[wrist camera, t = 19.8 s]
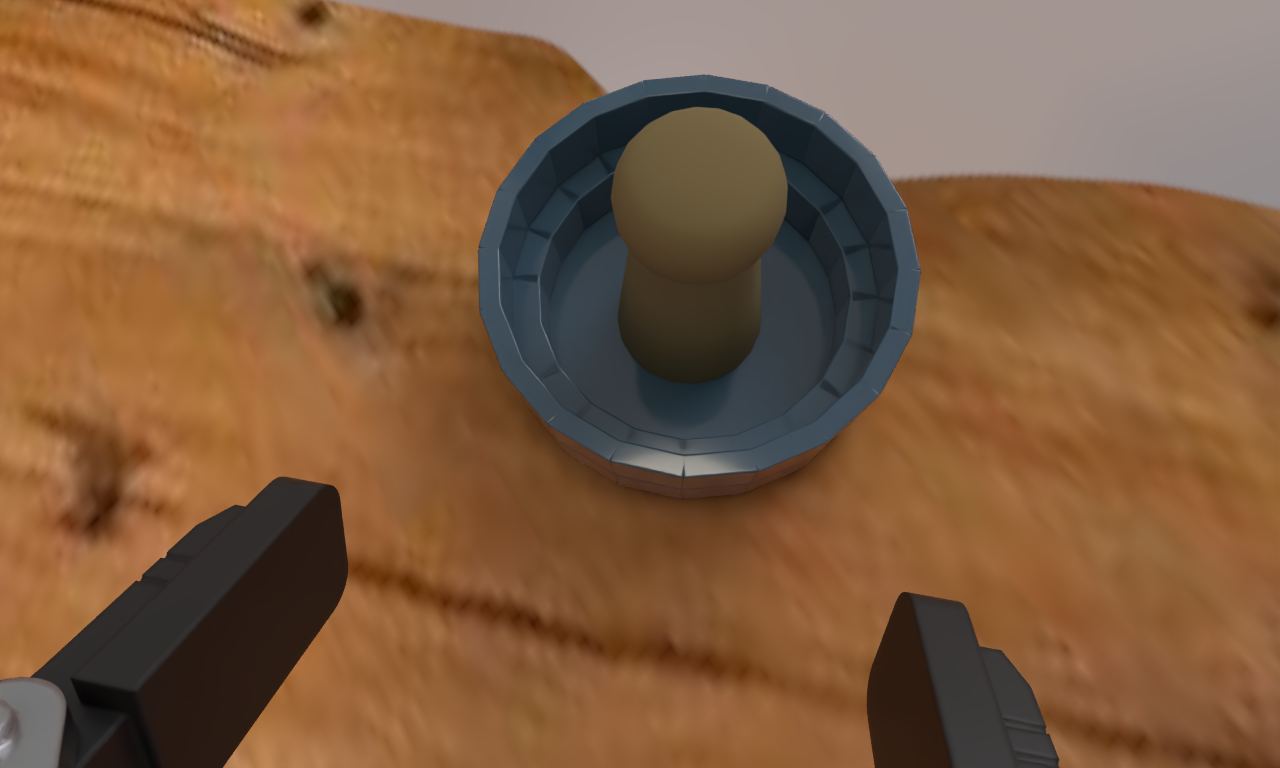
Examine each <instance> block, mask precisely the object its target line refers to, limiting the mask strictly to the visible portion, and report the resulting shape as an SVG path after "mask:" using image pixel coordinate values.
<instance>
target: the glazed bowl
mask: <svg viewBox="0 0 1280 768" xmlns="http://www.w3.org/2000/svg"><path fill="white" fill-rule="evenodd" d="M692 107H705V108H718V109H722V110H725V111H727V112H730V113H733V114H736V115H739V116H741V117H743V118H744V119H745V120H747V121H748V122H750V123H751V124H752V125H754V126H755V127H756V128H758V129H759V130H760V131H761V132H763V133H764V134H765V136H766V137H767V138H768V140H769V141H770V142H771V144H772V145H773V146H774V148H775V149H776V151H777V152H778V153H779V155H780V158H781V162H782V165H783V168H784V172H785V175H786V179H787V186H788V191H787V207H786V214H785V217H784V220H783V222H782V225H781V227H780V229H779V231H778V234H777V236H776V238H775V240H774V243H773V245H772V246H771V247H770V248H769V249H768V250H767V251H766V252H765V253H764V254H763V255H762V256H761V321H760V333H759V335H758V338H757V340H756V342H755V344H754V347H753V349H752V351H751V353H750V354H749V355H748V356H747V357H746V358H745V359H744V360H743V362H742V363H741V364H740V365H739V366H738V367H737V368H736V369H734V370H732V371H731V372H729V373H727V374H725V375H723V376H722V377H720V378H718V379H716V380H711V381H706V382H701V383H697V384H688V383H678V382H670V381H668V380H665V379H663V378H661V377H658V376H656V375H654V374H651V373H649V372H648V371H647V370H646V369H645V368H643V367H642V366H641V365H640V364H639V363H638V362H636V361H635V360H634V359H633V358H632V356H631V354H630V353H629V351H628V349H627V348H626V346H625V344H624V343H623V341H622V339H621V334H620V329H619V325H618V320H617V318H618V311H619V303H620V296H621V290H622V284H623V278H624V272H625V267H626V261H627V255H628V247H627V245H626V244H625V242H624V241H623V239H622V237H621V236H620V234H619V233H618V231H617V226H616V221H615V217H614V212H613V208H612V202H611V193H612V186H613V178H614V173H615V169H616V166H617V163H618V161H619V160H620V158H621V156H622V154H623V152H624V150H625V148H626V146H627V144H628V143H629V142H630V141H631V140H632V139H633V138H634V137H635V136H636V135H637V134H638V133H639V132H640V131H641V130H642V129H643V128H644V127H645V126H646V125H648V124H649V123H651V122H652V121H654V120H656V119H658V118H660V117H662V116H664V115H666V114H668V113H670V112H672V111H677V110H682V109H687V108H692ZM478 271H479V309H480V315H481V317H482V320H483V323H484V325H485V328H486V330H487V333H488V336H489V338H490V341H491V344H492V346H493V349H494V351H495V354H496V357H497V359H498V362H499V364H500V367H501V370H502V372H503V373H504V375H505V376H506V378H507V379H508V380H509V382H510V383H511V385H512V386H513V387H514V389H515V390H516V392H517V393H518V395H519V396H520V397H521V399H522V400H523V402H524V403H525V404H526V406H527V407H528V409H529V410H530V411H531V412H532V413H533V415H534V416H535V417H536V418H537V419H538V421H539V422H540V423H541V424H542V425H543V426H544V428H545V429H546V430H547V431H548V432H549V433H550V435H551V436H552V437H553V438H554V439H555V441H556V442H557V443H558V444H559V445H560V446H561V448H562V449H563V450H564V451H565V452H567V454H569V455H570V456H572V457H574V458H575V459H577V460H578V461H580V462H582V463H583V464H585V465H587V466H588V467H590V468H592V469H593V470H595V471H597V472H598V473H600V474H602V475H603V476H605V477H607V478H608V479H610V480H612V481H613V482H615V483H617V484H620V485H622V486H627V487H631V488H635V489H640V490H644V491H648V492H653V493H657V494H661V495H666V496H670V497H674V498H681V499H686V498H697V497H709V496H720V495H731V494H742V493H743V492H744V493H746V492H748V491H750V490H753V489H755V488H757V487H760V486H762V485H764V484H767V483H769V482H771V481H774V480H776V479H778V478H781V477H783V476H785V475H788V474H790V473H792V472H795V471H797V470H799V469H801V468H802V467H804V466H805V465H806V464H807V463H808V462H809V461H810V460H811V459H812V458H813V457H815V456H816V455H817V454H818V453H819V452H820V451H821V450H822V449H823V448H825V447H826V446H827V445H828V444H829V443H830V442H831V441H832V440H833V439H834V438H836V437H837V436H838V435H839V434H840V433H841V432H842V431H843V430H844V429H845V428H847V427H848V426H849V425H850V424H851V423H852V422H853V421H854V420H855V419H856V418H857V417H858V416H859V415H860V414H861V413H862V412H863V411H864V410H865V409H866V408H867V407H868V406H869V405H870V404H871V403H872V402H873V401H874V400H875V399H876V398H877V397H879V395H880V394H881V392H882V391H883V389H884V387H885V385H886V383H887V381H888V379H889V377H890V376H891V374H892V372H893V370H894V368H895V366H896V364H897V362H898V361H899V359H900V357H901V355H902V353H903V351H904V349H905V347H906V346H907V344H908V342H909V340H910V338H911V335H912V332H913V325H914V318H915V310H916V303H917V296H918V289H919V281H920V274H921V271H920V265H919V261H918V256H917V251H916V247H915V242H914V237H913V233H912V228H911V224H910V219H909V214H908V210H907V207H906V205H905V204H904V202H903V200H902V199H901V197H900V195H899V194H898V192H897V190H896V189H895V187H894V185H893V184H892V182H891V180H890V179H889V177H888V176H887V174H886V172H885V171H884V169H883V167H882V166H881V164H880V162H879V161H878V159H877V157H876V156H875V155H873V153H872V152H871V151H870V150H869V149H867V148H866V147H865V146H864V145H863V144H862V143H861V142H860V141H858V140H857V139H856V138H855V137H854V136H853V135H852V134H850V133H849V132H848V131H847V130H846V129H845V128H843V127H842V126H841V125H840V124H839V123H838V122H837V121H836V120H834V119H833V118H832V117H831V116H830V115H829V114H826V113H825V112H824V111H822V110H820V109H818V108H816V107H813V106H811V105H809V104H807V103H805V102H803V101H801V100H798V99H796V98H794V97H792V96H790V95H788V94H786V93H783V92H781V91H779V90H777V89H775V88H773V87H769V86H768V85H765V84H759V83H753V82H747V81H741V80H735V79H729V78H723V77H717V76H712V75H697V76H696V75H695V76H685V77H674V78H663V79H653V80H644V81H643V82H642V81H641V82H638V83H636V84H633V85H630V86H628V87H625V88H622V89H620V90H617V91H614V92H612V93H609V94H606V95H604V96H601V97H598V98H596V99H593V100H590V101H588V102H585V104H584V103H583V104H581V105H580V106H578V107H577V108H576V109H574V110H573V111H572V112H570V113H569V114H568V115H566V116H565V117H564V118H562V119H561V120H560V121H558V122H557V123H555V124H554V125H553V126H551V127H550V128H549V129H547V130H546V131H545V132H543V133H542V134H541V135H539V136H538V137H537V138H535V139H534V141H533V142H532V143H531V145H530V146H529V148H528V149H527V150H526V152H525V153H524V154H523V156H522V157H521V158H520V160H519V161H518V162H517V164H516V165H515V166H514V168H513V169H512V171H511V172H510V173H509V175H508V176H507V177H506V179H505V180H504V181H503V183H502V184H501V185H500V187H499V189H498V190H497V192H496V195H495V198H494V201H493V204H492V207H491V210H490V213H489V216H488V219H487V222H486V225H485V228H484V232H483V235H482V238H481V241H480V244H479V249H478Z"/></svg>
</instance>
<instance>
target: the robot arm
mask: <svg viewBox="0 0 1280 768" xmlns="http://www.w3.org/2000/svg"><path fill="white" fill-rule="evenodd" d="M347 575H348V560H347V552H346V544H345V536H344V527H343V519H342V511H341V503H340V496H339V493H338V491H337V489H336V488H335V487H334V486H332V485H328V484H322V483H317V482H311V481H306V480H300V479H295V478H289V477H278V478H276V479H274V480H273V481H272V482H271V483H269V484H268V485H267V486H266V487H265V488H264V489H263V490H262V491H261V492H260V493H259V494H258V495H257V496H256V497H255V498H254V499H253V500H252V501H251V502H250V503H249V504H248V505H247V506H246V507H244V506H239V505H234V506H232V507H230V508H228V509H226V510H224V511H222V512H221V513H219V514H217V515H215V516H213V517H211V518H209V519H207V520H205V521H204V522H202V523H200V524H198V525H196V526H195V527H194V528H193V529H192V530H191V531H190V532H189V533H187V534H186V535H185V536H184V537H183V538H182V539H181V540H180V541H179V542H178V543H177V544H175V545H174V546H173V547H172V548H171V549H170V550H169V551H168V552H167V556H166V557H165V558H160V559H159V560H158V561H157V562H156V563H155V564H154V565H153V566H152V567H150V568H149V569H148V570H147V571H146V572H145V573H144V574H143V575H142V579H141V581H140V582H139V581H135V582H134V583H133V584H132V585H131V586H130V587H129V588H128V589H127V590H125V591H124V592H123V593H122V594H121V595H120V596H119V597H118V598H117V599H116V600H115V601H113V602H112V603H111V604H110V605H109V606H108V607H107V608H106V609H105V610H104V611H103V612H102V613H100V614H99V615H98V616H97V617H96V618H95V619H94V620H93V621H92V622H91V623H90V624H88V625H87V626H86V627H85V628H84V629H83V630H82V631H81V632H80V633H79V634H78V635H77V636H75V637H74V638H73V639H72V640H71V641H70V642H69V643H68V644H67V645H66V646H65V647H63V648H62V649H61V650H60V651H59V652H58V653H57V654H56V655H55V656H54V657H53V658H51V659H50V660H49V661H48V662H47V663H46V664H45V665H44V666H43V667H42V668H41V669H39V670H38V671H37V672H36V673H35V674H33V675H32V676H31V677H19V678H9V679H4V680H0V768H223V766H224V765H225V764H226V762H227V761H228V759H229V758H230V757H231V755H232V754H233V752H234V751H235V749H236V748H237V747H238V745H239V744H240V742H241V741H242V740H243V738H244V737H245V735H246V734H247V733H248V731H249V730H250V728H251V727H252V725H253V724H254V723H255V721H256V720H257V718H258V717H259V716H260V714H261V713H262V711H263V710H264V709H265V707H266V706H267V704H268V703H269V702H270V700H271V699H272V697H273V696H274V694H275V693H276V692H277V690H278V689H279V687H280V686H281V685H282V683H283V682H284V680H285V679H286V678H287V676H288V675H289V673H290V672H291V670H292V669H293V668H294V666H295V665H296V663H297V662H298V661H299V659H300V658H301V656H302V655H303V654H304V652H305V651H306V649H307V648H308V646H309V645H310V644H311V642H312V641H313V639H314V638H315V637H316V635H317V634H318V632H319V631H320V630H321V628H322V627H323V625H324V624H325V623H326V621H327V620H328V618H329V617H330V615H331V614H332V613H333V611H334V610H335V608H336V607H337V605H338V603H339V601H340V599H341V597H342V594H343V591H344V588H345V585H346V581H347ZM867 715H868V723H869V730H870V737H871V744H872V751H873V758H874V765H875V768H1059V765H1058V761H1059V758H1058V756H1057V753H1056V751H1055V748H1054V745H1053V743H1052V740H1051V738H1050V735H1049V734H1046V731H1045V728H1046V725H1045V722H1044V720H1043V717H1042V715H1041V712H1040V709H1039V707H1038V704H1037V702H1036V699H1035V697H1034V694H1033V691H1032V689H1031V687H1030V685H1029V684H1028V683H1027V682H1026V680H1025V679H1024V678H1023V677H1022V675H1021V674H1020V673H1019V672H1018V671H1017V669H1016V668H1015V667H1014V666H1013V664H1012V663H1011V662H1010V661H1009V659H1008V658H1007V657H1006V656H1005V654H1004V653H1003V652H1002V651H1001V650H996V649H991V648H985V647H980V646H979V644H978V641H977V638H976V635H975V632H974V629H973V626H972V623H971V620H970V617H969V614H968V611H967V609H966V607H965V606H964V605H963V604H962V603H961V602H958V601H952V600H947V599H941V598H936V597H930V596H925V595H919V594H914V593H908V592H903V593H901V594H900V595H899V597H898V599H897V601H896V603H895V606H894V608H893V611H892V614H891V616H890V619H889V622H888V625H887V627H886V630H885V633H884V635H883V638H882V641H881V643H880V646H879V649H878V651H877V654H876V657H875V659H874V662H873V665H872V668H871V671H870V676H869V681H868V690H867Z"/></svg>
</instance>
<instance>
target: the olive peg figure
mask: <svg viewBox="0 0 1280 768" xmlns="http://www.w3.org/2000/svg"><path fill="white" fill-rule="evenodd" d="M787 191H788V186H787V179H786V175H785V172H784V168H783V165H782V162H781V158H780V155H779V153H778V152H777V151H776V149H775V148H774V146H773V145H772V144H771V142H770V141H769V140H768V138H767V137H766V136H765V134H764V133H763V132H761V131H760V130H759V129H758V128H756V127H755V126H754V125H752V124H751V123H750V122H748V121H747V120H745V119H744V118H743V117H741V116H739V115H736V114H733V113H730V112H727V111H725V110H722V109H718V108H705V107H692V108H687V109H682V110H677V111H672V112H670V113H668V114H666V115H664V116H662V117H660V118H658V119H656V120H654V121H652V122H651V123H649V124H648V125H646V126H645V127H644V128H643V129H642V130H641V131H640V132H639V133H638V134H637V135H636V136H635V137H634V138H633V139H632V140H631V141H630V142H629V143H628V144H627V146H626V148H625V150H624V152H623V154H622V156H621V158H620V160H619V161H618V163H617V166H616V169H615V173H614V178H613V186H612V193H611V202H612V208H613V212H614V217H615V221H616V226H617V231H618V233H619V234H620V236H621V237H622V239H623V241H624V242H625V244H626V245H627V247H628V255H627V261H626V267H625V272H624V278H623V284H622V290H621V296H620V303H619V311H618V318H617V320H618V325H619V329H620V334H621V339H622V341H623V343H624V344H625V346H626V348H627V349H628V351H629V353H630V354H631V356H632V358H633V359H634V360H635V361H636V362H638V363H639V364H640V365H641V366H642V367H643V368H645V369H646V370H647V371H648V372H649V373H651V374H654V375H656V376H658V377H661V378H663V379H665V380H668V381H670V382H678V383H688V384H697V383H701V382H706V381H711V380H716V379H718V378H720V377H722V376H723V375H725V374H727V373H729V372H731V371H732V370H734V369H736V368H737V367H738V366H739V365H740V364H741V363H742V362H743V360H744V359H745V358H746V357H747V356H748V355H749V354H750V353H751V351H752V349H753V347H754V344H755V342H756V340H757V338H758V335H759V333H760V321H761V256H762V255H763V254H764V253H765V252H766V251H767V250H768V249H769V248H770V247H771V246H772V245H773V243H774V240H775V238H776V236H777V234H778V231H779V229H780V227H781V225H782V222H783V220H784V217H785V214H786V207H787Z"/></svg>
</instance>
